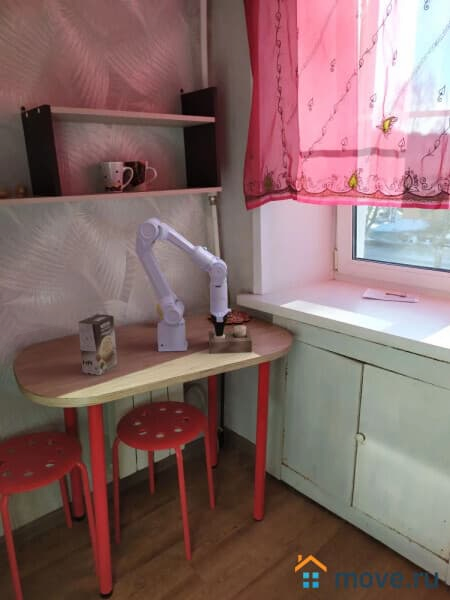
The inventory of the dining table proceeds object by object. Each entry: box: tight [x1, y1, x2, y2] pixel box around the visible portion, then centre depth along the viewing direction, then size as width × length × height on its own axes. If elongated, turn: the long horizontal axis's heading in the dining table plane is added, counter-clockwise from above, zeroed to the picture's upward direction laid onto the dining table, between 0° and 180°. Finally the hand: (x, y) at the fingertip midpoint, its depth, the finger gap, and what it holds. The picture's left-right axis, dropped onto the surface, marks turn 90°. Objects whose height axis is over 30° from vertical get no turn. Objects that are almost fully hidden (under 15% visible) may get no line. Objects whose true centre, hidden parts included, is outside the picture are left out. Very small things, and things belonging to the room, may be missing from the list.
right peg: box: [233, 324, 247, 338], centre depth 157 cm, size 4×4×4 cm
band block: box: [208, 329, 253, 355], centre depth 158 cm, size 14×11×4 cm
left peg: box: [213, 334, 225, 339], centre depth 157 cm, size 4×4×4 cm
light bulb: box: [155, 302, 164, 323], centre depth 178 cm, size 6×6×10 cm
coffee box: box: [77, 313, 118, 376], centre depth 140 cm, size 9×6×16 cm
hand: (219, 335), depth 157 cm, fingers closed, pressing on left peg
